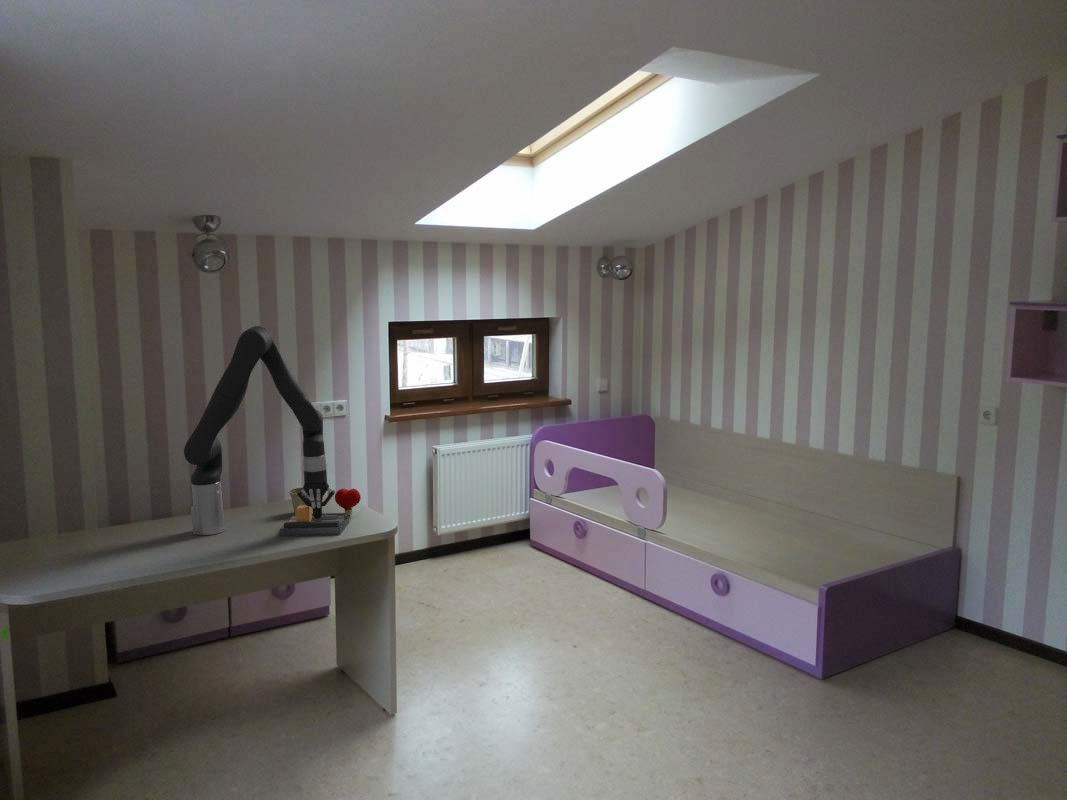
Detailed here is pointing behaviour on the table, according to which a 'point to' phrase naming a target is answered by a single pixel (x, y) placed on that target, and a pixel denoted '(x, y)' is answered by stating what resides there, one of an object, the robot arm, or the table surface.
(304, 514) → the tan cardboard cube
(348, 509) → the red heart figurine
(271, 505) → the table surface
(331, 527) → the panel
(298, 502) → the flower pot
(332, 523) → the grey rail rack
